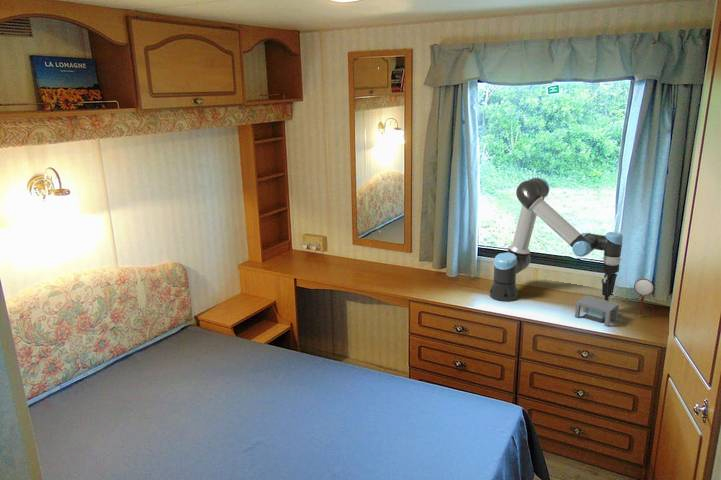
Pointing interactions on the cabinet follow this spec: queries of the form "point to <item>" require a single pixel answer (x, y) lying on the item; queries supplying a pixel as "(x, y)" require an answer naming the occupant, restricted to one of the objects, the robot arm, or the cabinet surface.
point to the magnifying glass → (643, 290)
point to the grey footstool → (597, 308)
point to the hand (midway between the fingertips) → (606, 307)
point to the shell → (596, 313)
